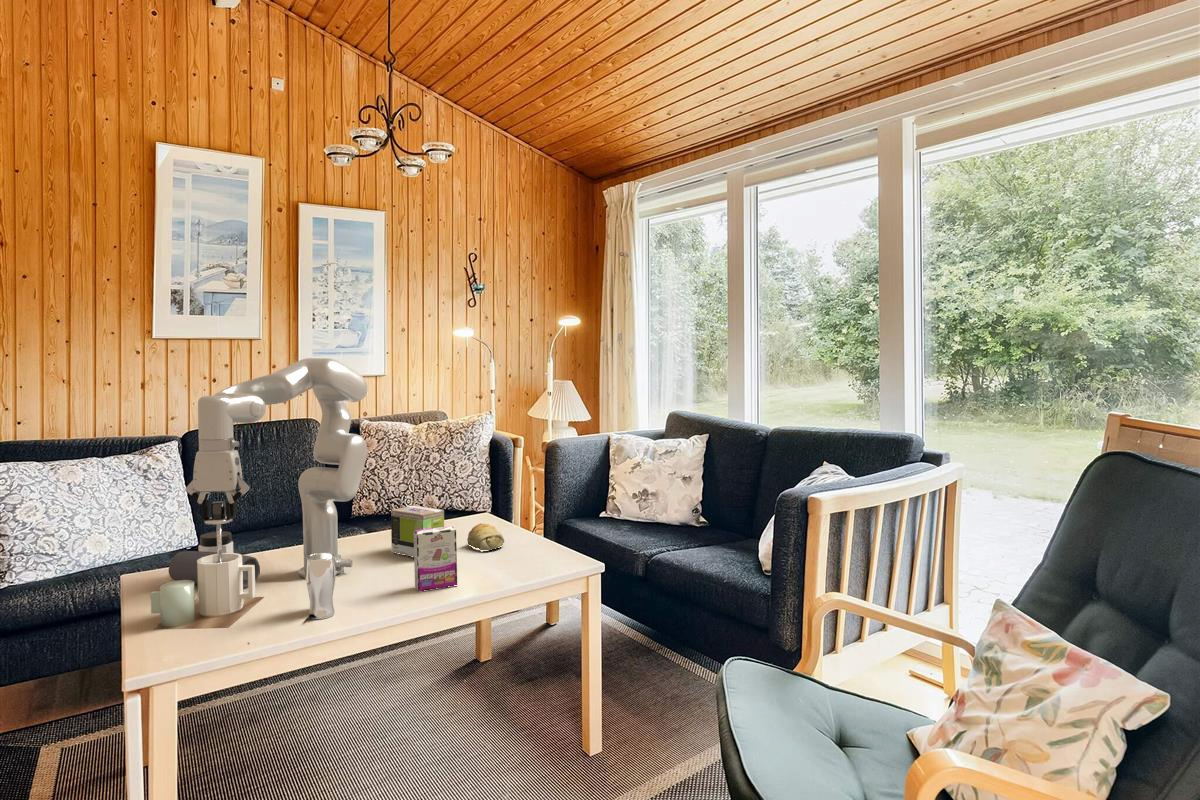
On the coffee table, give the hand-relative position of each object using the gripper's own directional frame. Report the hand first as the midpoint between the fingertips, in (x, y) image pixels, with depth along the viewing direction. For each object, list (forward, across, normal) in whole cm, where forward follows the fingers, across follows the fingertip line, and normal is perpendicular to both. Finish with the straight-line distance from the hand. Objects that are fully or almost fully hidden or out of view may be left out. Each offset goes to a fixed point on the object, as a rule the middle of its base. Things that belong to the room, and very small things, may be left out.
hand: (218, 517), depth 173 cm
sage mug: (+23, +8, +8) cm, 26 cm away
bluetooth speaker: (+25, +11, -21) cm, 34 cm away
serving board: (+24, +2, +2) cm, 25 cm away
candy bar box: (+25, -50, -18) cm, 59 cm away
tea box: (+25, -39, -52) cm, 70 cm away
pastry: (+25, -60, -59) cm, 88 cm away
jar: (+25, +16, -33) cm, 44 cm away
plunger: (+13, 0, 0) cm, 13 cm away
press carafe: (+23, -2, 0) cm, 23 cm away
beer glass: (+25, -25, +2) cm, 35 cm away
